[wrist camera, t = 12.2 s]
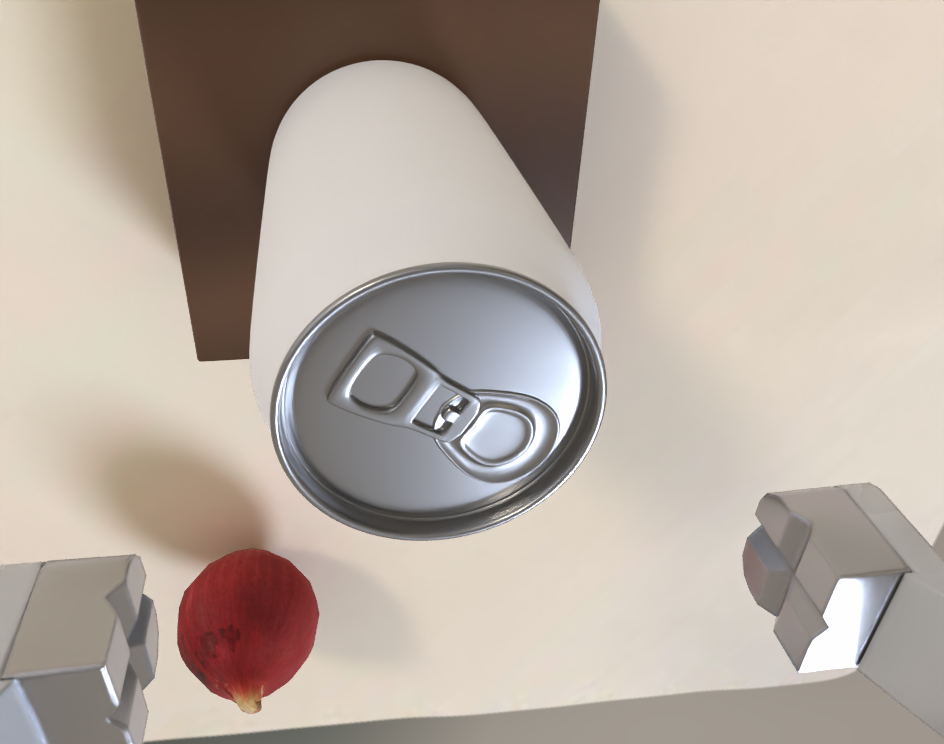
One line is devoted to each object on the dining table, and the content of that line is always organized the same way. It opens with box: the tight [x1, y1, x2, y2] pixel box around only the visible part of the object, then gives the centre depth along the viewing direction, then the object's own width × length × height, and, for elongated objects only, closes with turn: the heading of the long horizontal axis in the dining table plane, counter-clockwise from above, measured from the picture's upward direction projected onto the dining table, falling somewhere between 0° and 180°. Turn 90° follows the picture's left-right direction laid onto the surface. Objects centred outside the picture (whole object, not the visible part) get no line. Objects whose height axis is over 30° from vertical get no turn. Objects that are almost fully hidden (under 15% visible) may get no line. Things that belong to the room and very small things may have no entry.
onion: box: [177, 549, 319, 714], centre depth 34 cm, size 6×6×8 cm
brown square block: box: [134, 0, 600, 361], centre depth 25 cm, size 12×12×5 cm
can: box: [249, 60, 607, 541], centre depth 18 cm, size 6×6×12 cm
